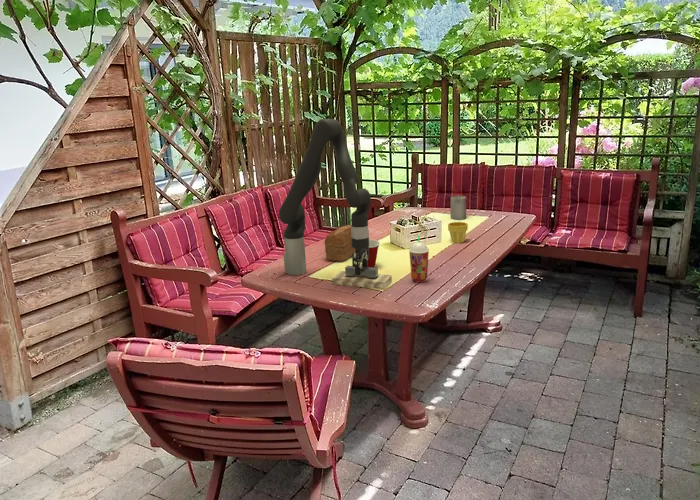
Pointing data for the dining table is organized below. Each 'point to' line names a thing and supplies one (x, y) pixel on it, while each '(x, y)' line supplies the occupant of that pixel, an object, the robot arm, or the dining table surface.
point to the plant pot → (457, 231)
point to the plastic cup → (372, 252)
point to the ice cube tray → (362, 280)
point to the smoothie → (419, 261)
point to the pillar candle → (458, 207)
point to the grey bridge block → (362, 272)
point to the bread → (339, 244)
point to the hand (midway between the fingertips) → (361, 272)
